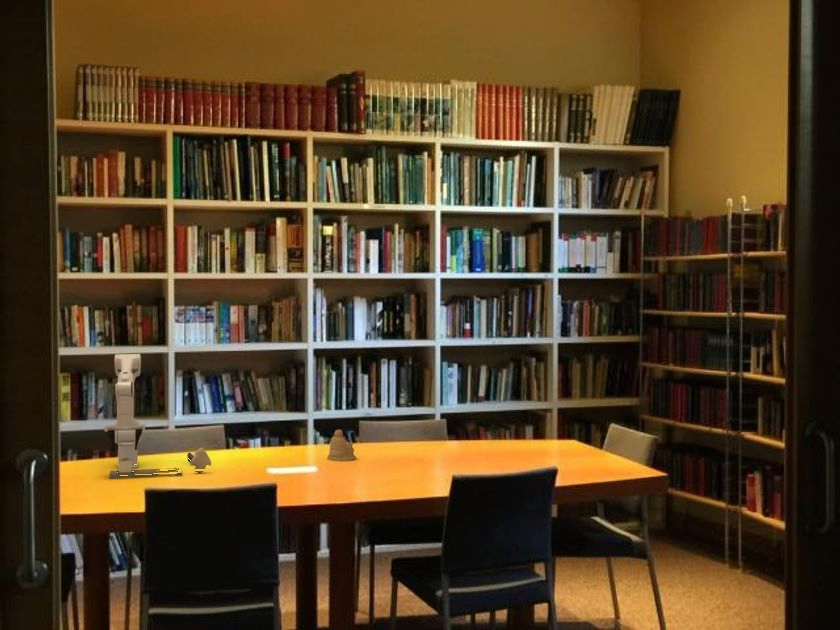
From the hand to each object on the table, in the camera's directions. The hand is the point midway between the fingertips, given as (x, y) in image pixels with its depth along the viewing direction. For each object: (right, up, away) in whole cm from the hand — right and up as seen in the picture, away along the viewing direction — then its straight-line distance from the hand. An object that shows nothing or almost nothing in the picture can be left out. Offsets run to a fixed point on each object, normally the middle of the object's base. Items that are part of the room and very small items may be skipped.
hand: (125, 450), depth 397 cm
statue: (+77, -9, +39) cm, 87 cm away
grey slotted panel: (+7, -10, +2) cm, 12 cm away
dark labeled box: (+20, -10, +25) cm, 34 cm away
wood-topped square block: (0, -9, 0) cm, 9 cm away
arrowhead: (+27, -10, +7) cm, 29 cm away
